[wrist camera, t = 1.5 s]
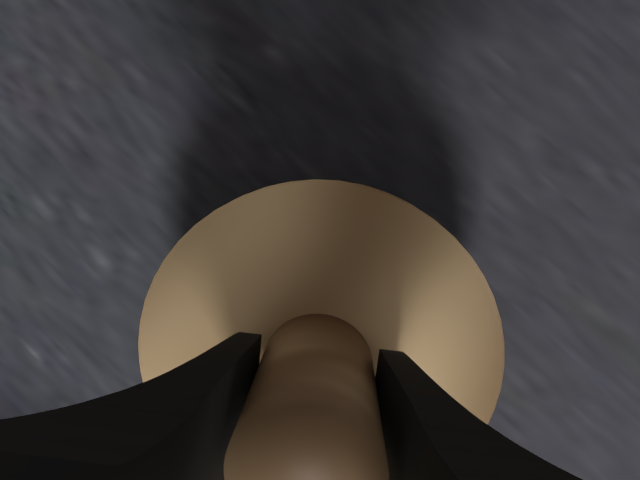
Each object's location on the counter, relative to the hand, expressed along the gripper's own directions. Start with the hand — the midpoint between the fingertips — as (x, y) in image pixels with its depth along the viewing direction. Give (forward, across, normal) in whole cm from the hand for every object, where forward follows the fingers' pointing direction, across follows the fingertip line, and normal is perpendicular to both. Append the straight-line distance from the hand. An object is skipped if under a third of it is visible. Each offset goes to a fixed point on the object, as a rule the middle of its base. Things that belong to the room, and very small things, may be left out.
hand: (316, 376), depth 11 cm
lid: (+1, 0, 0) cm, 1 cm away
